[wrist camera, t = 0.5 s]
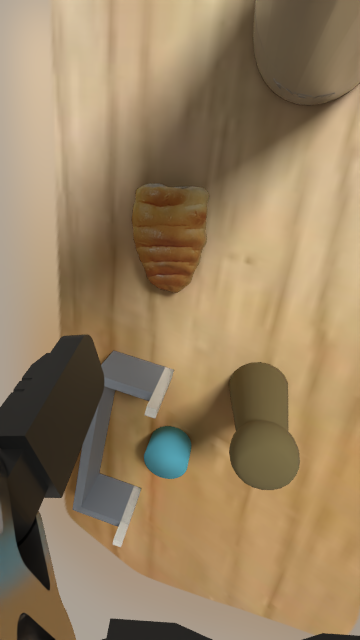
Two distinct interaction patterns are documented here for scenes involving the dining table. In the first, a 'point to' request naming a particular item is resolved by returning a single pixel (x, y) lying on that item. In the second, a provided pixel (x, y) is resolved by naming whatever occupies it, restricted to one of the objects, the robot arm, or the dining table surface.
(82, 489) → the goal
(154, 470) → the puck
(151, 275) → the pastry
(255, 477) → the cork
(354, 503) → the dining table surface
